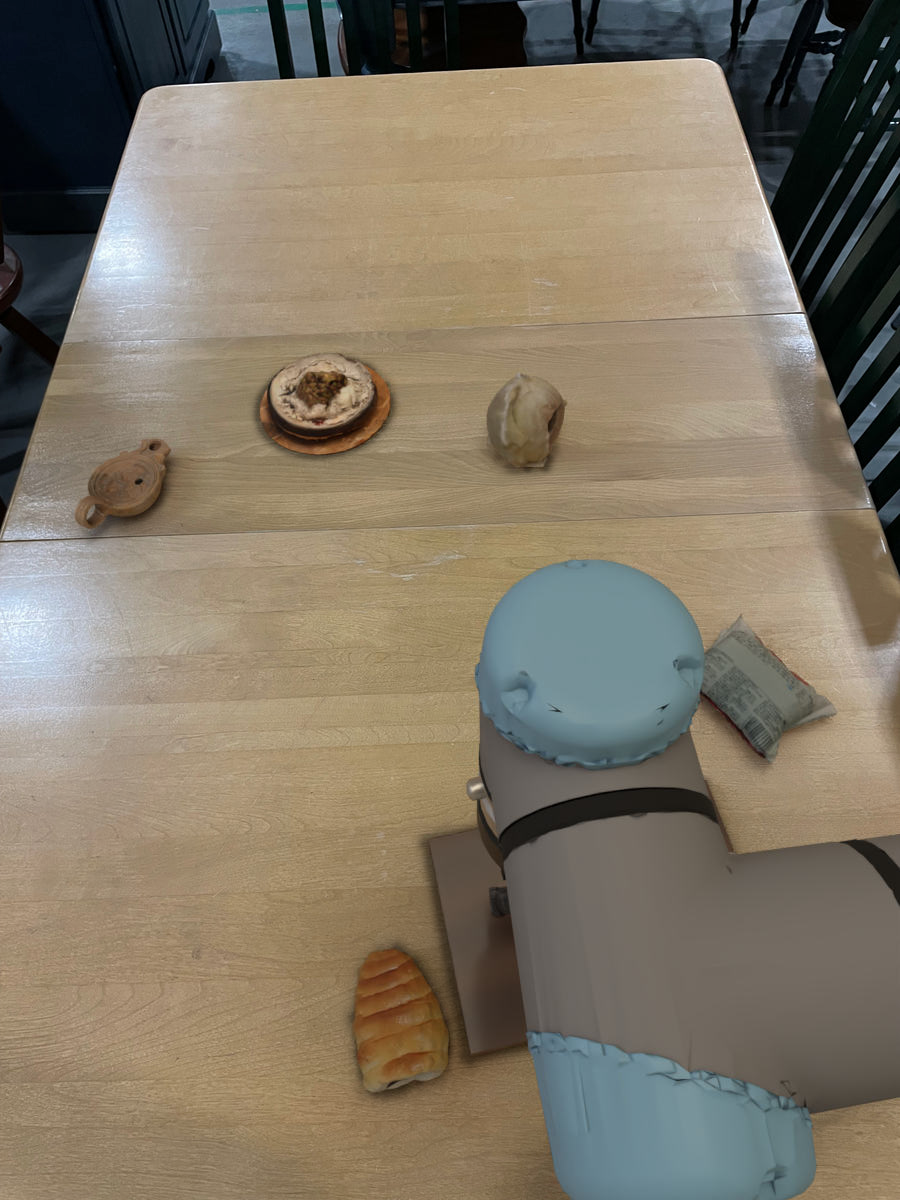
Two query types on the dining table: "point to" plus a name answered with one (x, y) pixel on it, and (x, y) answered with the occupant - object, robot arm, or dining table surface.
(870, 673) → the dining table surface
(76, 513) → the oil lamp
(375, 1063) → the pastry
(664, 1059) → the robot arm
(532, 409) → the beige rounded shell
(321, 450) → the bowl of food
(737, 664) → the packaged food
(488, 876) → the cutting board
